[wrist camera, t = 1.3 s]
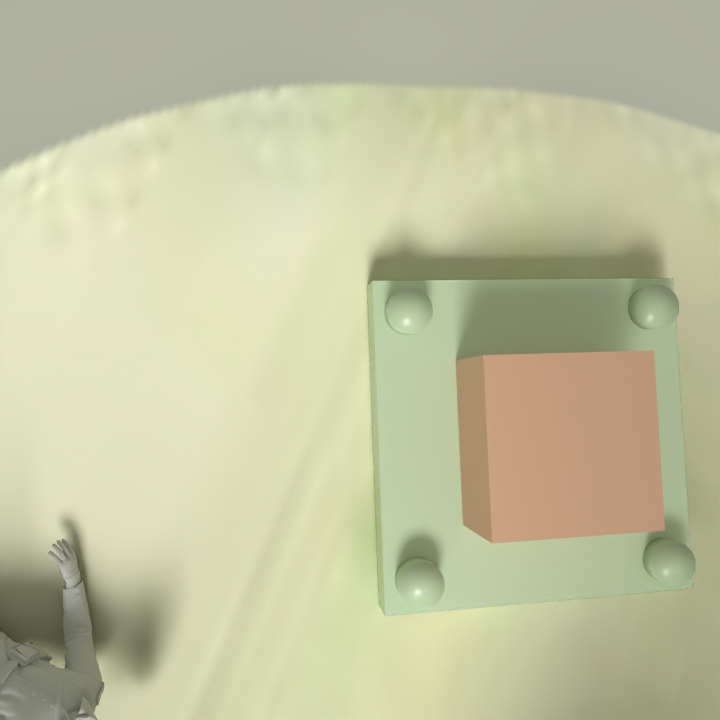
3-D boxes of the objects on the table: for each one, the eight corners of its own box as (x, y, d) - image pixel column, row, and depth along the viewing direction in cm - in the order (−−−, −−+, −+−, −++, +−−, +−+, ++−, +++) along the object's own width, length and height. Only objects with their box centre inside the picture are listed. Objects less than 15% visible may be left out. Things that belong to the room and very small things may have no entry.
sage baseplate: (672, 579, 26) (707, 595, 24) (379, 605, 24) (389, 624, 22) (654, 283, 26) (686, 274, 24) (367, 286, 24) (376, 276, 22)
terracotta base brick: (615, 514, 24) (664, 530, 21) (462, 525, 23) (492, 543, 20) (606, 356, 24) (653, 350, 22) (455, 360, 24) (483, 355, 21)
